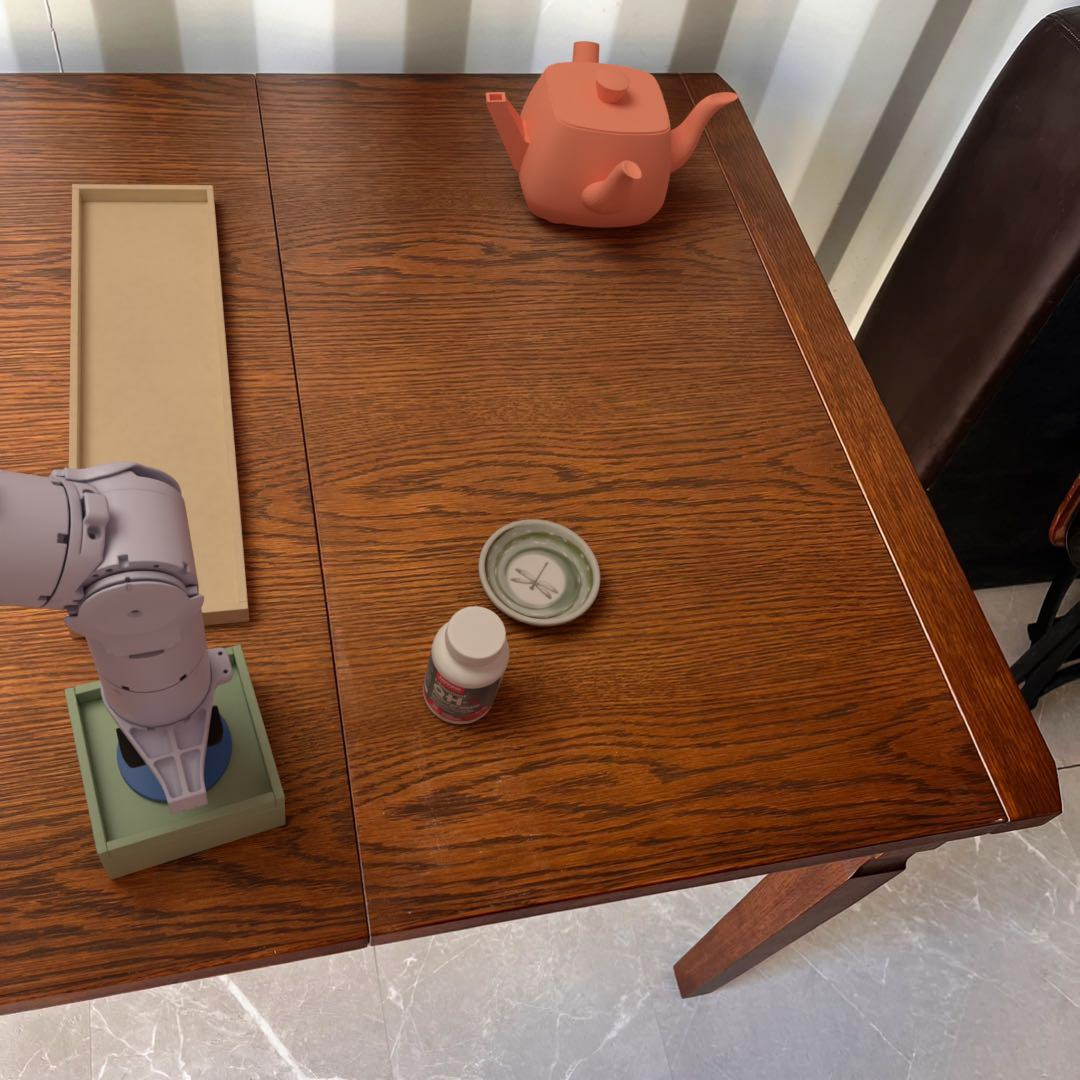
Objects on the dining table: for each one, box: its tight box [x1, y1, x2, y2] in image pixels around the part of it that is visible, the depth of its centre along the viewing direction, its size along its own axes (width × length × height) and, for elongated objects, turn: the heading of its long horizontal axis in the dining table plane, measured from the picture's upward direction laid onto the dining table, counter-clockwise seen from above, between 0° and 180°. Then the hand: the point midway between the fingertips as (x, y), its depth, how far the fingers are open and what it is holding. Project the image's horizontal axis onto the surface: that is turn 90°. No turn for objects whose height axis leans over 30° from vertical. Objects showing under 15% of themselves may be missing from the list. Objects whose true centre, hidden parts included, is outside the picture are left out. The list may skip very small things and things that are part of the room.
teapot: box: [485, 40, 739, 228], centre depth 108 cm, size 18×18×14 cm
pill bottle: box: [422, 605, 510, 725], centre depth 76 cm, size 5×5×10 cm
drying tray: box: [66, 183, 250, 639], centre depth 89 cm, size 45×12×2 cm, turn 12°
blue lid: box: [117, 715, 232, 803], centre depth 68 cm, size 7×7×5 cm
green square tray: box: [64, 644, 286, 881], centre depth 71 cm, size 11×11×6 cm
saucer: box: [477, 518, 601, 627], centre depth 85 cm, size 10×10×2 cm
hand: (173, 741), depth 69 cm, fingers closed on blue lid, 2 cm apart
